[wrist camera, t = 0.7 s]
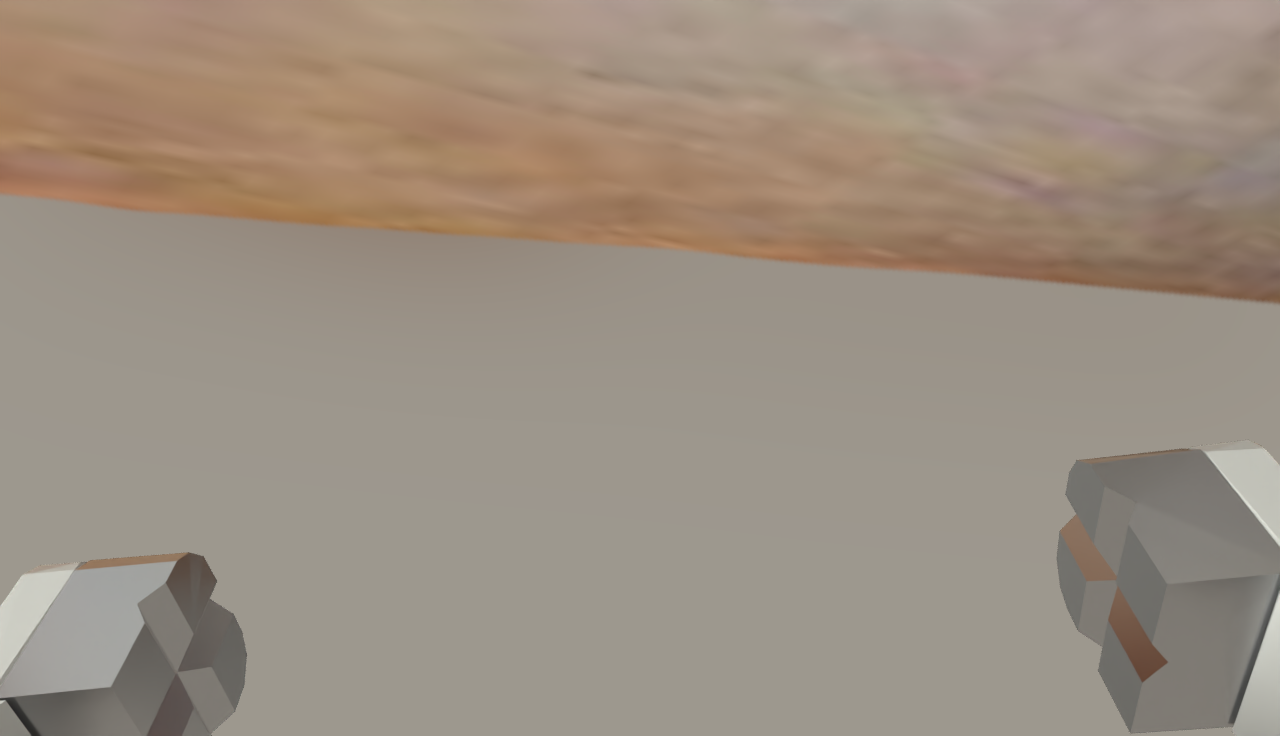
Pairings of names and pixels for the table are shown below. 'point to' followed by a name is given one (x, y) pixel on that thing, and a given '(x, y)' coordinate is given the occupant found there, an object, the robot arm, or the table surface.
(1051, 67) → the table surface
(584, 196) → the table surface
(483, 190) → the table surface
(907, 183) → the table surface
